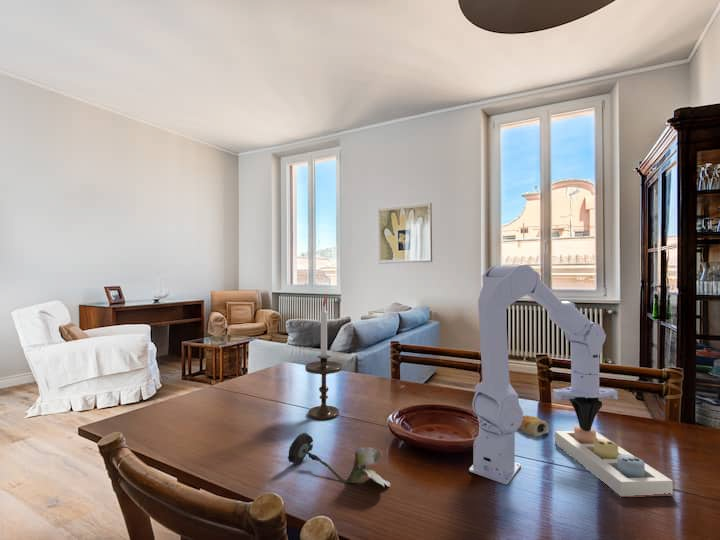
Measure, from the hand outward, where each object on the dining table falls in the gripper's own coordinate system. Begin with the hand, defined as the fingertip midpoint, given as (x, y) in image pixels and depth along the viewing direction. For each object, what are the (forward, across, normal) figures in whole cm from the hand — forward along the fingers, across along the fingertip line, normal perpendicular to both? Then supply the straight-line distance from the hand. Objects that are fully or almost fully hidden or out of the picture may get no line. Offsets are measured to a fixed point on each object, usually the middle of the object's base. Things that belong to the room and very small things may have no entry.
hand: (585, 429), depth 87 cm
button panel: (+5, 0, +7) cm, 9 cm away
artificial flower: (+6, +58, +8) cm, 58 cm away
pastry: (+6, +7, -12) cm, 15 cm away
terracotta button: (+3, 0, 0) cm, 3 cm away
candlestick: (+5, +63, -24) cm, 68 cm away
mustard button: (+3, 0, +7) cm, 8 cm away
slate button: (+3, 0, +14) cm, 14 cm away
